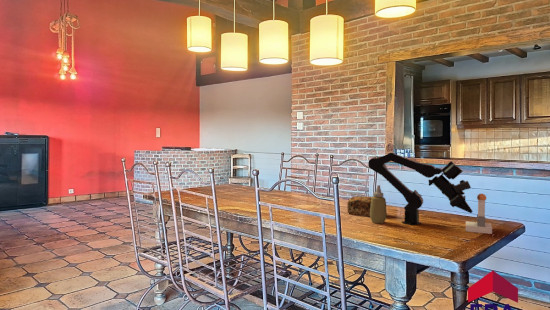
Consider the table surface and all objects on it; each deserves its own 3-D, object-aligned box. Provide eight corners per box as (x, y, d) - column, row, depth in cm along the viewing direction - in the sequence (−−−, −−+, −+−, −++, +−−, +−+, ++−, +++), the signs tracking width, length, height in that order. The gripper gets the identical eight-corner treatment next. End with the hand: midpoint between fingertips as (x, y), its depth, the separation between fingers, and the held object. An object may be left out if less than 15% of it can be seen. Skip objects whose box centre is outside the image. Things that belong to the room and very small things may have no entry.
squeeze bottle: (377, 224, 175) (378, 186, 174) (365, 221, 182) (366, 185, 181) (390, 223, 178) (390, 185, 178) (378, 219, 186) (379, 184, 185)
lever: (476, 224, 163) (477, 194, 163) (476, 222, 168) (477, 192, 167) (485, 225, 161) (486, 194, 161) (485, 223, 166) (486, 193, 165)
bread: (386, 215, 199) (386, 196, 198) (380, 218, 190) (381, 199, 189) (353, 211, 209) (353, 193, 208) (346, 214, 200) (346, 196, 199)
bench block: (465, 231, 163) (466, 216, 163) (465, 226, 172) (466, 212, 172) (491, 233, 158) (492, 218, 158) (490, 229, 167) (490, 214, 167)
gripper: (458, 176, 159) (487, 203, 155) (459, 173, 176) (485, 197, 171) (438, 193, 163) (466, 220, 159) (441, 188, 180) (466, 213, 175)
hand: (471, 212), depth 166 cm, fingers closed
